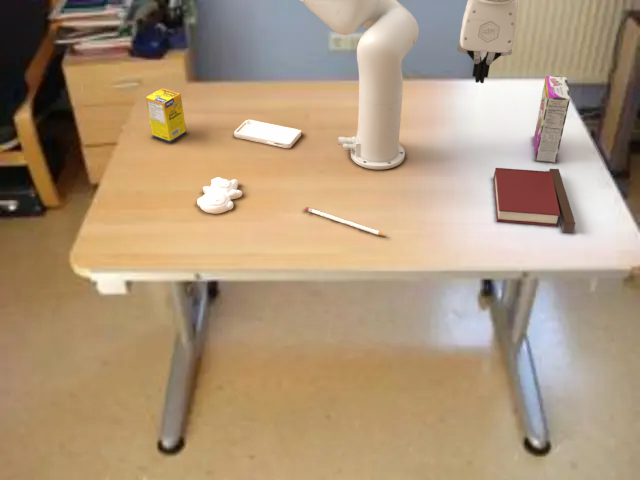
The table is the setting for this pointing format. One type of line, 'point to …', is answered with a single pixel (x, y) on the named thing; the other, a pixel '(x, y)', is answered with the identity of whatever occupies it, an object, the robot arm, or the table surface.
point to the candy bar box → (551, 118)
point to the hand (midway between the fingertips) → (479, 79)
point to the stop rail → (563, 203)
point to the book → (525, 197)
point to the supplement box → (166, 115)
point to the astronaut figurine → (219, 196)
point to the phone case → (268, 133)
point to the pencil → (345, 221)
